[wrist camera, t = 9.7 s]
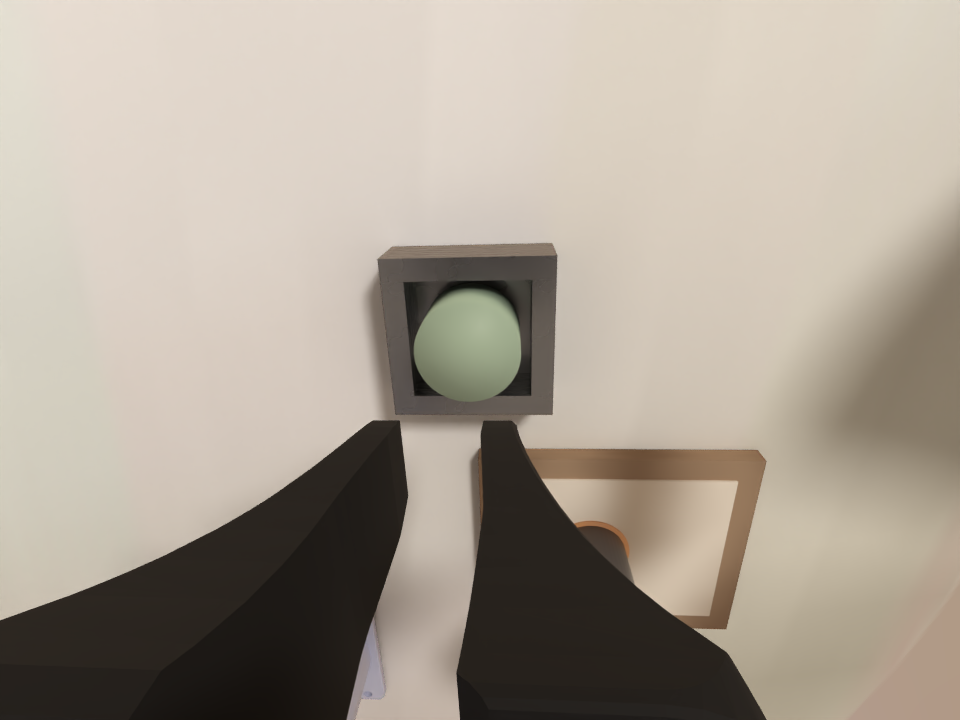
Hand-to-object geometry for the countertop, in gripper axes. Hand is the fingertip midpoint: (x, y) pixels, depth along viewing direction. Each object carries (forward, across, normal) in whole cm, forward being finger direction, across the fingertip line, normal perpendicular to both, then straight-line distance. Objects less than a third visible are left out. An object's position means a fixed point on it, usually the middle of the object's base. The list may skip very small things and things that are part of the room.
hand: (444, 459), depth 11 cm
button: (+9, 0, 0) cm, 9 cm away
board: (+9, -6, +11) cm, 16 cm away
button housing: (+9, 0, 0) cm, 9 cm away
